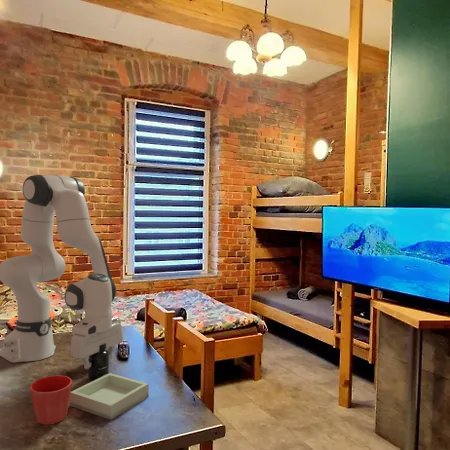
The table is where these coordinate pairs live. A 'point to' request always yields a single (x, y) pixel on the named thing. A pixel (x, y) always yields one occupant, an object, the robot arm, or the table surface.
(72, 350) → the robot arm
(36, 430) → the table surface
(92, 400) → the tray
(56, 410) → the flower pot
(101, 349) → the supplement bottle
